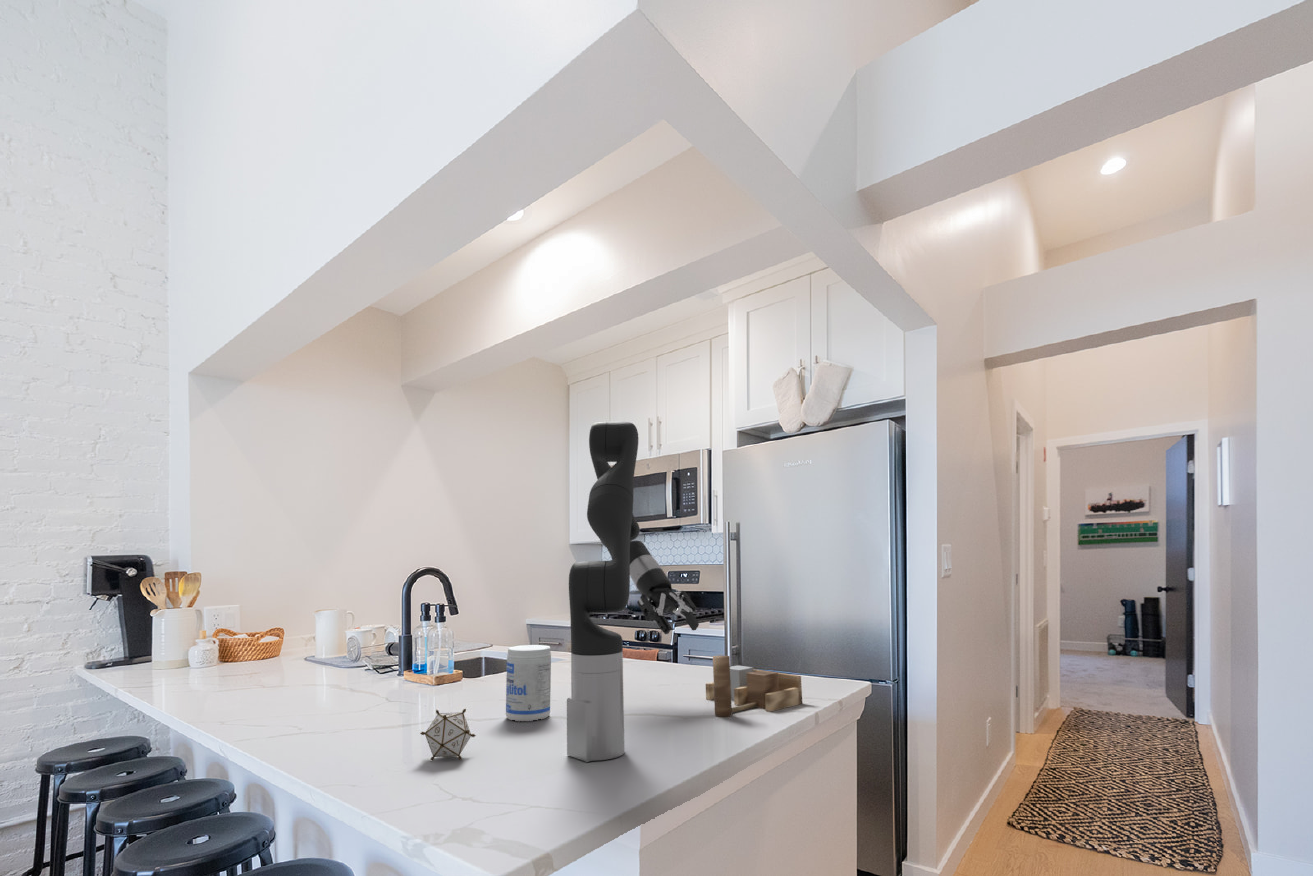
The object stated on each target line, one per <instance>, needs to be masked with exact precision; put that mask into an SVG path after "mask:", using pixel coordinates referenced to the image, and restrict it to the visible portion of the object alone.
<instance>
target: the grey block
mask: <svg viewBox="0 0 1313 876" xmlns="http://www.w3.org/2000/svg"><path fill="white" fill-rule="evenodd" d="M753 669H754V667H752V666H745V665H744V666H743V665H739V664H738V665H732V666H730V680H731V701H734V688H739V687H744V686H747V673H750V672H754V671H753Z"/></svg>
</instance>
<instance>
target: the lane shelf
mask: <svg viewBox="0 0 1313 876" xmlns="http://www.w3.org/2000/svg"><path fill="white" fill-rule="evenodd" d="M760 670H761V669H755V668H753V671H754V672H755V671H760ZM763 671H765V670H764V669H763ZM769 671H770V670H769ZM770 672H772V671H770ZM777 673H778V682H779V691H776V692H771V693H767V694H765V707H766V709H765V712H773V711H774V712H775V711H777V710H782V709H785V708H790V707H794V706H798V705H801V704H803V687H802V675H799V674H798V675H797V674H790V673H784V672H777ZM705 699H706V700H709V701H710V700H714V681H713V682H712V681H711V682H707V683H705ZM733 701H734V705H735V706H742V705H746V704H748V694H747V686H744V687H739V688H734V700H733Z"/></svg>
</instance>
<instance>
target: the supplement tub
mask: <svg viewBox="0 0 1313 876" xmlns="http://www.w3.org/2000/svg"><path fill="white" fill-rule="evenodd" d="M506 655H507V657H506V682H505V683H506V686H505V687H506V688H505V689H506V691H505V692H506V693H505V716H506V718H507V719H508V720H510V721H512V720H515V721H514V722H520V721H521V722H534V721H533V720H537V721H539V720H538V719H541V720H544V719H546V718H548V717H549V716H550V714H551V689H552V688H551V683H552V681H551V680H552V679H551V678H552V677H551V676H552V652H551V646H549V645H545V644H544V645H543V644H542V645H541V644H524V645H523V644H522V645H515V646H510V647H508V650H507V654H506Z"/></svg>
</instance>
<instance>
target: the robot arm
mask: <svg viewBox="0 0 1313 876" xmlns="http://www.w3.org/2000/svg"><path fill="white" fill-rule="evenodd" d="M589 430H590V431H589V438H588V443H589V444H588V446H589V447H588V449H589V453H590V458H591V462H592V465H593V469H594V472H595V476H596V479H597V480H596V482H594V483H593V485H592V487H591V488H590V491H589V494H588V495H589V496H588V502H587V509H586V510H587V511H586V518H587V522H588V524H589V525H590V529H592V531H593V532H594V533H595V535H596V537H598V539H599V541H600V542H601V543H602V544H603V546H604V547H605V549H607V551H608V553H609V554H610V557H611V559H610V560H586V561H576V562H573V564H572V565H571V567H570V569H569V574H568V597H569V613H570V615H569V617H570V652H571V654H570V655H571V656H570V658H571V659H570V662H571V663H570V665H571V666H570V667H571V668H570V669H571V670H570V673H571V677H570V678H571V683H570V684H571V685H570V686H571V688H570V689H571V690H570V691H571V693H570V695H571V696H570V697H567V699H566V755H567V756H569V757H572V758H574V759H576V760H577V759H578V760H580V761H583V762H586V763H587V762H589V763H590V762H593V761H605V760H611V759H615V758H619V757H621V756H623V755H624V754H625V753H626V752H625V749H626V748H625V708H624V707H625V705H624V703H625V702H624V698H625V697H624V655H623V654H624V652H623V650H624V643H623V641H624V640H623V638H622V637H623V636H622V635H620V633H618V632H615V631H612V630H608V629H606V628H604V627H603V626H600V625H598V624H597V623H596V622H594V621H593V620H592V619H591V616H590V614H591V613H592V614H593V613H595V614H598V613H600V614H602V613H617V612H618V613H619V612H622V611H624V610H625V609H626V608H627V606H628V602H629V599H630V589H631V588H630V587H631V585H630V584H631V583H630V581H631V580H632V582H633V583H634V585H635V586H636V589H637V590H638V591H639V593H640V597H639V598H638V600H637V605H638V607H639V609H640V611H641V612H642V615H643V616H644V618H645V620H646V621H648V622H651V621H653V622H654V623H656V624H657V626H658V627H659V628H660V630H661V632H662V633H664V635H669V634H670V632H671V630H672V626H671V624H670V622H669V621H668V620H667V618H666V616H665V615H663V614H666V613H673V614H675V615H676V616H677V615H680V616H681V617H683V618H684V620H685V621H686V623H687V625H688V626H689V629H691V631H696V630H697V629H698V627H699V626H700V625H699V624H700V623H699V621H698V619H697V618H696V616H695V614H694V613H695V612H696V610H697V609H698V608H697V606H696V605H695V603H694V602H693V601H692V599H691V598H690V597H689V596H688V594H687V592H686V591H685V590H681V591H680V593H679V592H678V593H676V592H675V591H674V590H673V588H672V582H671V581H670V579H669V578H668V576H667V575H666V573H665V572H664V570H663V568H662V567H661V565H660V564H659V563H658V561H657V560H656V558H654V557H653V555H652V554H651V553H650V550H648V548H647V546H646V545H645V544H644V542H642V541H639V540H636V539H637V538H638V537H639V535H640V531H641V530H640V525H639V523H638V521H637V519H636V517H635V515H634V513H633V512H634V486H635V485H634V484H635V483H634V479H635V469H636V465H637V457H638V449H639V432H638V429H637V426H636V425H635V424H634V423H633V422H629V421H598V422H594V423H593V424H592V425H591V426H590V429H589ZM610 463H615V464H613V465H612V466H611V465H610ZM678 605H679V606H678ZM677 606H678V607H677ZM683 610H684V611H683Z"/></svg>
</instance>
